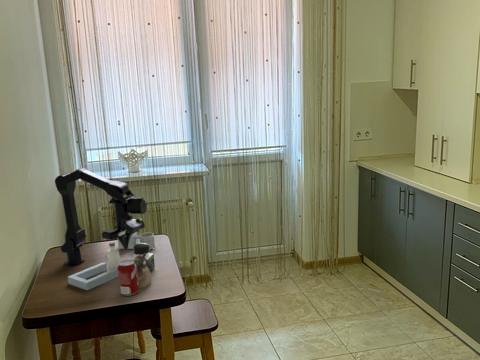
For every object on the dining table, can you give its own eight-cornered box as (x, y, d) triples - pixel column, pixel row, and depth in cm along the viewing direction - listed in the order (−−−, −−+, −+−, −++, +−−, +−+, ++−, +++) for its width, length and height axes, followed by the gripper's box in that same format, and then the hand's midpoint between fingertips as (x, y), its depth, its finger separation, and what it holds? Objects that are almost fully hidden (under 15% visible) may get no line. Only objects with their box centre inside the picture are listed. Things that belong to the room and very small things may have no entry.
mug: (157, 246, 227) (155, 232, 226) (152, 251, 221) (150, 237, 219) (137, 245, 229) (135, 232, 228) (131, 250, 223) (130, 237, 221)
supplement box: (118, 249, 226) (115, 223, 223) (124, 243, 233) (121, 218, 230) (132, 249, 224) (130, 223, 222) (138, 244, 231) (136, 218, 229)
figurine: (131, 282, 187) (128, 253, 185) (149, 278, 190) (146, 249, 188) (135, 289, 181) (131, 259, 178) (153, 285, 184) (150, 255, 181)
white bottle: (106, 271, 199) (103, 244, 197) (116, 267, 203) (112, 241, 201) (114, 274, 196) (110, 246, 194) (123, 270, 200) (120, 242, 198)
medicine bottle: (148, 276, 192) (145, 247, 190) (132, 275, 194) (129, 247, 191) (155, 269, 199) (152, 241, 197) (139, 268, 201) (136, 241, 198)
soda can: (129, 298, 174) (126, 267, 171) (116, 294, 177) (112, 264, 175) (142, 290, 179) (139, 260, 177) (129, 287, 183) (126, 257, 180)
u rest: (68, 283, 189) (67, 276, 189) (104, 268, 203) (103, 262, 202) (87, 290, 182) (86, 283, 182) (122, 274, 195) (121, 267, 195)
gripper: (116, 221, 188) (121, 259, 191) (152, 209, 203) (155, 245, 206) (98, 218, 195) (103, 254, 198) (134, 206, 209) (137, 241, 213)
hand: (125, 248), depth 204 cm, fingers closed
